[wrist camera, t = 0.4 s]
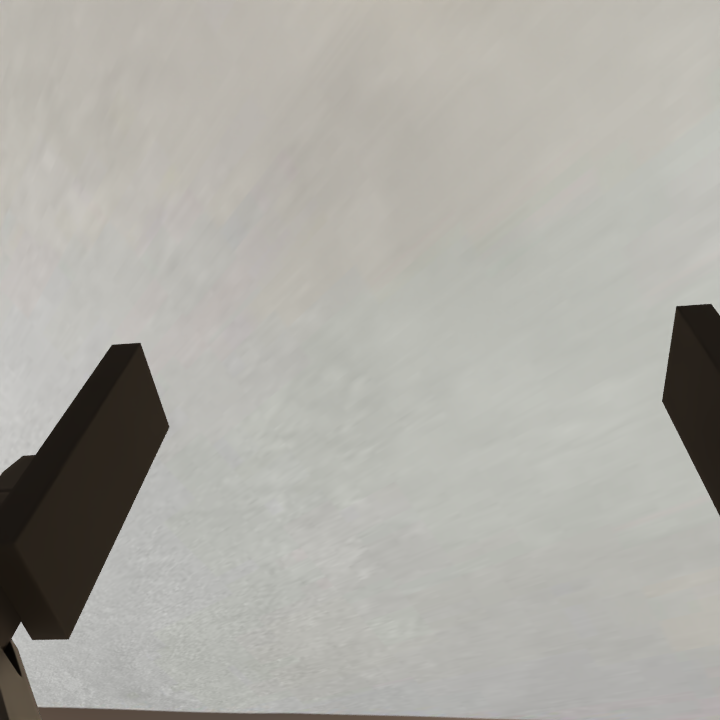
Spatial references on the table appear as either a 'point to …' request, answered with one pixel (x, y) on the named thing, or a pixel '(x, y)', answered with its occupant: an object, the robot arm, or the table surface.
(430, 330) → the table surface
